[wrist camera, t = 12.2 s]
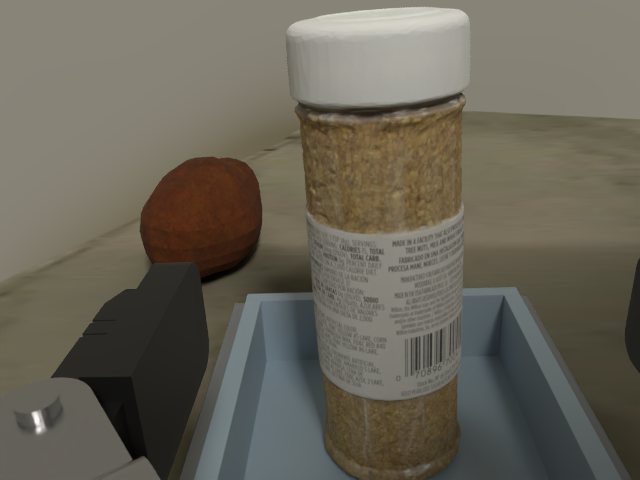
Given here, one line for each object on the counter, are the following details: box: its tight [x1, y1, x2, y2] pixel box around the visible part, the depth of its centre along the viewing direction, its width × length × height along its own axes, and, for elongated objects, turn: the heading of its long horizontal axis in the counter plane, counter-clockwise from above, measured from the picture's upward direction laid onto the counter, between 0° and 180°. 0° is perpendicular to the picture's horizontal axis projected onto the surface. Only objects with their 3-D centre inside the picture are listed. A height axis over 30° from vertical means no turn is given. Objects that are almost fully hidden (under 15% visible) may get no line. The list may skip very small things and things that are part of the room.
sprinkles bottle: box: [286, 7, 470, 480], centre depth 18 cm, size 5×5×13 cm
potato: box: [140, 157, 262, 278], centre depth 35 cm, size 7×9×6 cm
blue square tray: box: [179, 287, 632, 480], centre depth 20 cm, size 12×12×4 cm
